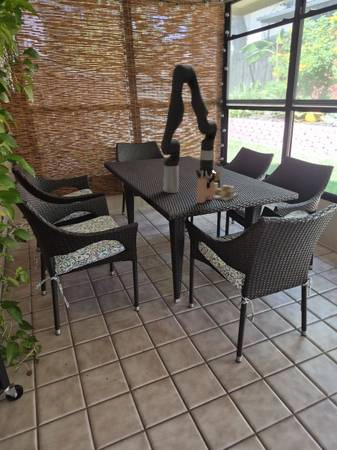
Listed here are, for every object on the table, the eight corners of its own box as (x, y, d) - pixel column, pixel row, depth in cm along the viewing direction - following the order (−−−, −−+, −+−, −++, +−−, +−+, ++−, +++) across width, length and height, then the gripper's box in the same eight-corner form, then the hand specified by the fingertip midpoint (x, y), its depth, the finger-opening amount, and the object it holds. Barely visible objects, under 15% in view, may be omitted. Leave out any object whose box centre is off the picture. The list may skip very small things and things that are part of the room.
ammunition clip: (207, 189, 206) (208, 171, 201) (205, 189, 208) (206, 171, 203) (220, 187, 211) (220, 169, 206) (218, 186, 212) (219, 169, 208)
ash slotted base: (201, 195, 195) (201, 184, 192) (214, 190, 204) (214, 179, 201) (225, 201, 183) (226, 189, 180) (238, 195, 193) (239, 184, 190)
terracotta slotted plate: (196, 202, 180) (197, 178, 175) (209, 197, 188) (210, 174, 183) (201, 203, 179) (201, 179, 173) (213, 198, 187) (214, 175, 181)
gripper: (192, 157, 176) (192, 187, 182) (213, 160, 167) (211, 191, 174) (201, 155, 181) (200, 184, 187) (221, 158, 172) (219, 188, 179)
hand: (205, 187), depth 181 cm, fingers closed on terracotta slotted plate, 3 cm apart
